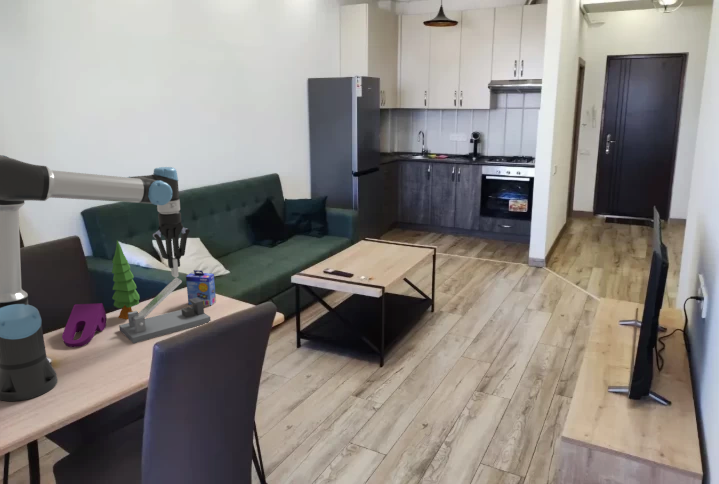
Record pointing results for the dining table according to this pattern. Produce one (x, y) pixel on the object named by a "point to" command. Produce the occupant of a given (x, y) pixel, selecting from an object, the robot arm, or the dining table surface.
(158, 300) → the grey long flat bar
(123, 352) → the dining table surface
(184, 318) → the latch base
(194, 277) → the ink cartridge box
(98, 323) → the mounting bracket
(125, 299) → the decorative tree
